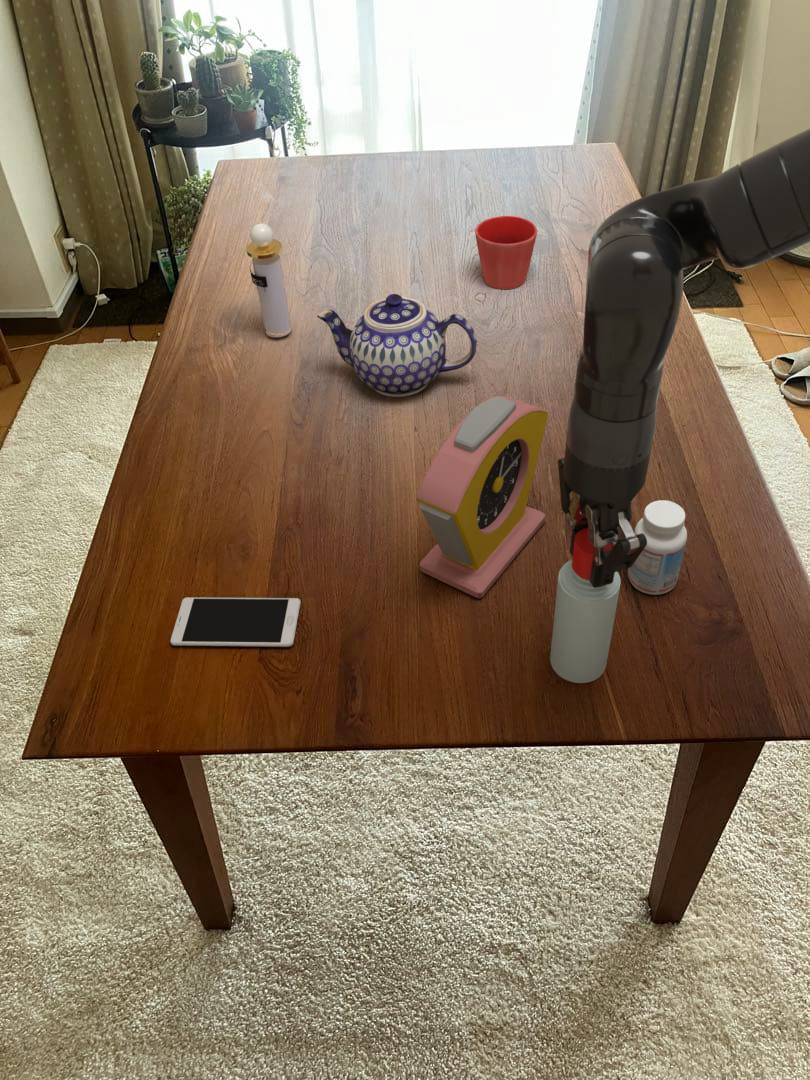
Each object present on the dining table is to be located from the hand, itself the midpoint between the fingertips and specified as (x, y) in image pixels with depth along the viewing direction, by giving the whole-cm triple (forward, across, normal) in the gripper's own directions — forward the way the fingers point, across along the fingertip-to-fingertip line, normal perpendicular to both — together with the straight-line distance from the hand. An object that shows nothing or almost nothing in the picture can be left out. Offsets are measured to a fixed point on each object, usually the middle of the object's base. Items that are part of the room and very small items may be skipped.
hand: (590, 567), depth 92 cm
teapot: (+16, +61, +1) cm, 63 cm away
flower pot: (+17, +83, -27) cm, 89 cm away
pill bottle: (+16, +8, -14) cm, 23 cm away
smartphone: (+16, +20, +36) cm, 44 cm away
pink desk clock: (+16, +21, +3) cm, 26 cm away
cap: (0, 0, 0) cm, 0 cm away
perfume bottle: (+17, +82, +16) cm, 85 cm away
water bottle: (+16, 0, 0) cm, 16 cm away
